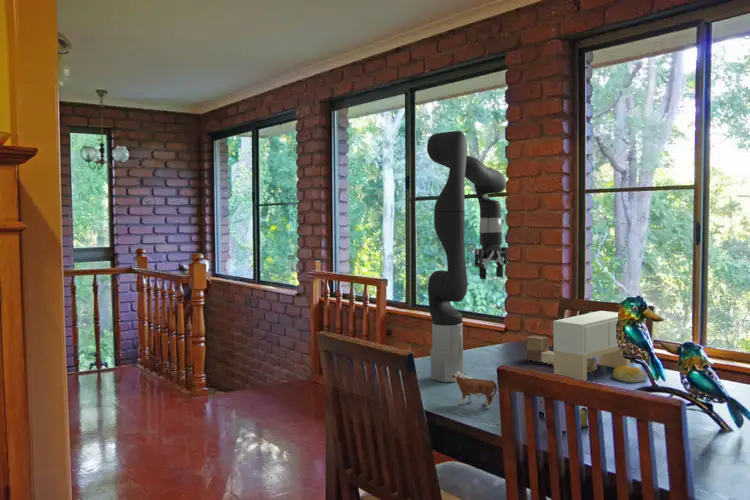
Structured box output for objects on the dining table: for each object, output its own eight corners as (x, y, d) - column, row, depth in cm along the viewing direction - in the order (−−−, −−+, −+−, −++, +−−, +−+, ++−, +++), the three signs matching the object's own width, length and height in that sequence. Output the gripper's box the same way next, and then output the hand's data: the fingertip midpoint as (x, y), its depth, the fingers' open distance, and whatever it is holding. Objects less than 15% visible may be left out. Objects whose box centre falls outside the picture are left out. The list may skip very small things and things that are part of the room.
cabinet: (584, 384, 180) (584, 324, 179) (554, 377, 188) (553, 320, 187) (631, 369, 196) (631, 314, 195) (601, 363, 205) (601, 310, 204)
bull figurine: (455, 398, 171) (455, 369, 170) (499, 406, 162) (499, 376, 162) (447, 402, 167) (446, 372, 167) (491, 411, 159) (491, 379, 158)
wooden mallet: (589, 372, 194) (589, 347, 193) (526, 360, 212) (526, 336, 212) (596, 370, 196) (596, 345, 196) (534, 358, 215) (533, 335, 214)
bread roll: (626, 374, 191) (626, 361, 191) (650, 380, 183) (649, 367, 183) (605, 377, 188) (605, 364, 188) (629, 384, 180) (629, 371, 179)
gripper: (485, 231, 206) (486, 280, 207) (512, 230, 215) (513, 276, 216) (468, 231, 212) (469, 279, 213) (495, 230, 221) (496, 275, 222)
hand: (491, 277), depth 215 cm, fingers open, 8 cm apart
